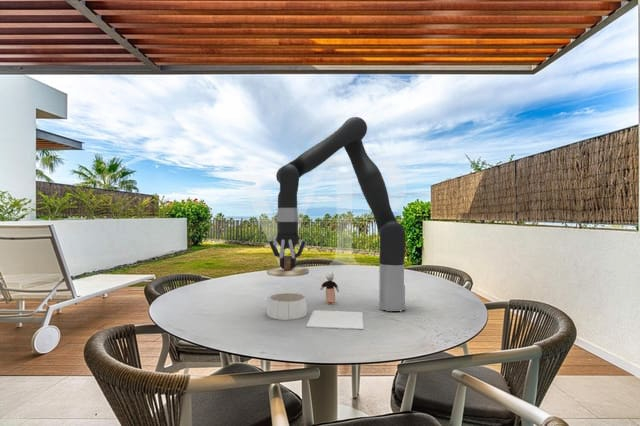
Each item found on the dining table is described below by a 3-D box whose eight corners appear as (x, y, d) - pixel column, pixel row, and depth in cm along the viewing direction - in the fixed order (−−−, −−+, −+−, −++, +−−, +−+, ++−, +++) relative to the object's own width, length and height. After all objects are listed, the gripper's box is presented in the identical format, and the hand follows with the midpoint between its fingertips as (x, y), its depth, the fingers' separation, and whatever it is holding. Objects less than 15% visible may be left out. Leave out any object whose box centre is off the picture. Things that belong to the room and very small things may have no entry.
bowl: (309, 309, 130) (309, 293, 130) (303, 320, 116) (303, 302, 116) (273, 307, 131) (273, 292, 131) (263, 318, 117) (263, 301, 117)
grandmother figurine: (339, 302, 139) (339, 271, 139) (339, 305, 135) (339, 273, 136) (320, 302, 140) (320, 271, 140) (319, 304, 136) (319, 272, 136)
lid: (311, 269, 130) (311, 254, 130) (305, 276, 115) (305, 259, 115) (272, 269, 132) (272, 253, 132) (261, 276, 117) (261, 258, 117)
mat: (362, 313, 124) (362, 312, 124) (363, 329, 106) (363, 328, 106) (313, 311, 126) (313, 310, 126) (306, 327, 108) (306, 326, 108)
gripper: (308, 220, 126) (308, 267, 126) (271, 220, 128) (271, 266, 128) (305, 220, 119) (305, 270, 119) (265, 220, 121) (266, 269, 120)
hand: (287, 268), depth 123 cm, fingers closed on lid, 3 cm apart
